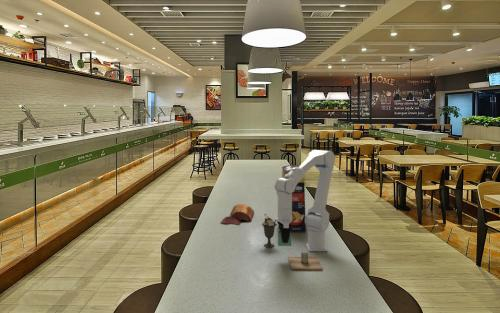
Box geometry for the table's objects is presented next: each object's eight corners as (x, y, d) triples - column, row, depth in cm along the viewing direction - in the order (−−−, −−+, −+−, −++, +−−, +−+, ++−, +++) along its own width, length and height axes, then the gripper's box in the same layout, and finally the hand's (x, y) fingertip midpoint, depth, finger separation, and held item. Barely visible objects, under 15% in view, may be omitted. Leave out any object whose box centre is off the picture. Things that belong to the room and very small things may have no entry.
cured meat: (219, 225, 204) (219, 213, 203) (224, 213, 229) (225, 202, 228) (252, 226, 203) (252, 214, 202) (254, 214, 228) (254, 203, 227)
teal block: (277, 241, 155) (277, 227, 154) (290, 241, 155) (290, 227, 154) (278, 246, 150) (278, 231, 149) (291, 245, 150) (291, 231, 149)
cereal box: (282, 218, 217) (281, 164, 213) (302, 218, 216) (301, 163, 213) (284, 233, 190) (283, 171, 187) (306, 232, 190) (305, 170, 186)
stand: (288, 258, 154) (288, 247, 154) (316, 258, 154) (317, 247, 154) (291, 270, 142) (291, 258, 142) (322, 270, 142) (322, 258, 142)
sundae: (258, 245, 170) (258, 213, 168) (268, 242, 175) (268, 211, 173) (269, 249, 165) (269, 216, 164) (279, 245, 170) (279, 213, 169)
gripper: (273, 203, 158) (273, 234, 159) (275, 212, 143) (275, 246, 145) (290, 203, 158) (290, 234, 159) (294, 212, 143) (294, 246, 145)
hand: (284, 240), depth 152 cm, fingers closed on teal block, 5 cm apart
